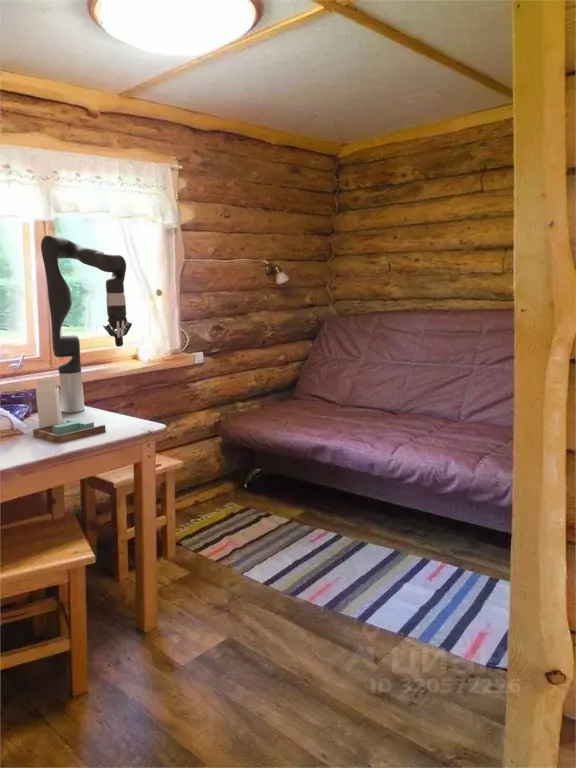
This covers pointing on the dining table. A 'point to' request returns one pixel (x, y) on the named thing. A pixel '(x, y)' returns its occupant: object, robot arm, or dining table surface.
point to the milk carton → (48, 402)
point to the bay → (49, 435)
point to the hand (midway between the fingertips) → (119, 346)
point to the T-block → (72, 426)
